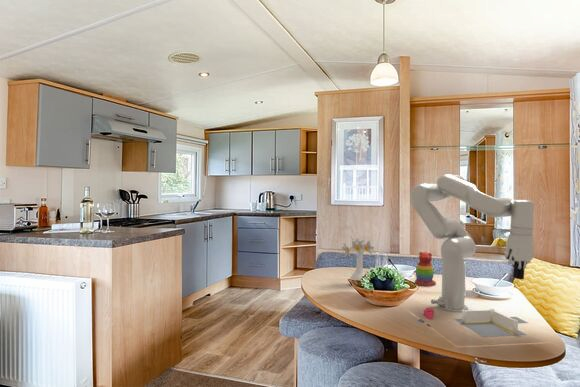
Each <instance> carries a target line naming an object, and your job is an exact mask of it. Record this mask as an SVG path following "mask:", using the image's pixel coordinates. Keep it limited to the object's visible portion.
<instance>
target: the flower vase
mask: <svg viewBox="0 0 580 387" xmlns="http://www.w3.org/2000/svg"><path fill="white" fill-rule="evenodd" d="M365 241H366V240H365V239H364V238H363V239H361V240H360V239H359V238H355V241H354V240H353V241H351V246H350V247H348V246H347V244H346V243H343V246H342V247H341V249H342V250H343V252H344V256H345V257H347V256H348V257H349V258H350V257H351V251H354V254H355V255H356V268H355V270H354V272H353V273H352V274H351V276H350V281H351V280H360V279H361V278H362V276H363V275H365V274H366V273H365V270H364V267H363V265H364V264H363V262H364V261H363V259H364V257H363V256H364V255H366V254H368V256H372V251H373V252H375V250H374V249H375V247H374V246H373V245H372V243H371V241H370V240H369V238H368V239H367V242H366V243H365Z"/></svg>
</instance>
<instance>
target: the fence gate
mask: <svg viewBox="0 0 580 387" xmlns="http://www.w3.org/2000/svg"><path fill="white" fill-rule="evenodd" d="M510 317H511V316H508V315H505V314H503V313H501V312H499V311H497V310H495V311H493V322H494V323H496V324H498V325H500V326H502V327H504V328H506V329H508V330H510V331H512V332H514V333H518V330H519V323H518V320H516V319H512V318H510Z"/></svg>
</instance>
